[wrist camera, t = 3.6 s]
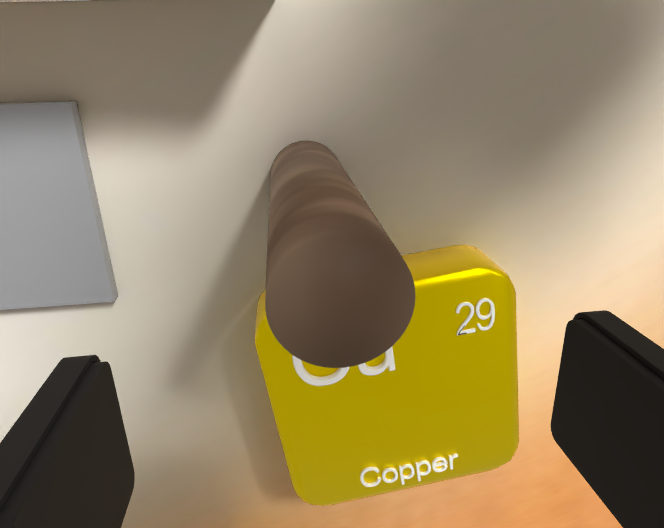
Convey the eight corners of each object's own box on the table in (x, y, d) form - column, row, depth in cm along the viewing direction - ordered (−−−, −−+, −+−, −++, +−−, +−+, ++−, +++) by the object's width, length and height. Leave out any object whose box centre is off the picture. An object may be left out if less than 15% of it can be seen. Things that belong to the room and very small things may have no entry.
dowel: (340, 139, 27) (418, 226, 12) (342, 209, 29) (412, 361, 14) (267, 142, 27) (259, 236, 12) (273, 213, 28) (271, 374, 14)
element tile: (296, 465, 36) (300, 521, 32) (249, 283, 30) (245, 320, 26) (494, 423, 37) (525, 472, 32) (485, 236, 31) (521, 264, 26)
